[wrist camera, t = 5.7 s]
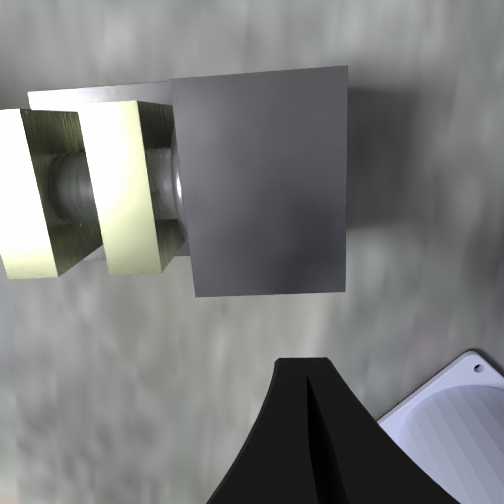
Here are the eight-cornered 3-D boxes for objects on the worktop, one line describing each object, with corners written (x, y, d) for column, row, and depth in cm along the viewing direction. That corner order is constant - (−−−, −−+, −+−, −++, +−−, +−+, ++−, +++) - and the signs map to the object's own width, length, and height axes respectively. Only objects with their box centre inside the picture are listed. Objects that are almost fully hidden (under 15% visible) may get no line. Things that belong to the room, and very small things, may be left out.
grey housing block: (320, 86, 17) (347, 65, 11) (321, 234, 19) (345, 291, 13) (207, 94, 18) (169, 79, 11) (221, 239, 20) (195, 297, 13)
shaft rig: (320, 71, 17) (342, 48, 12) (321, 246, 20) (340, 295, 14) (35, 93, 18) (-72, 80, 13) (71, 257, 21) (-5, 308, 15)
